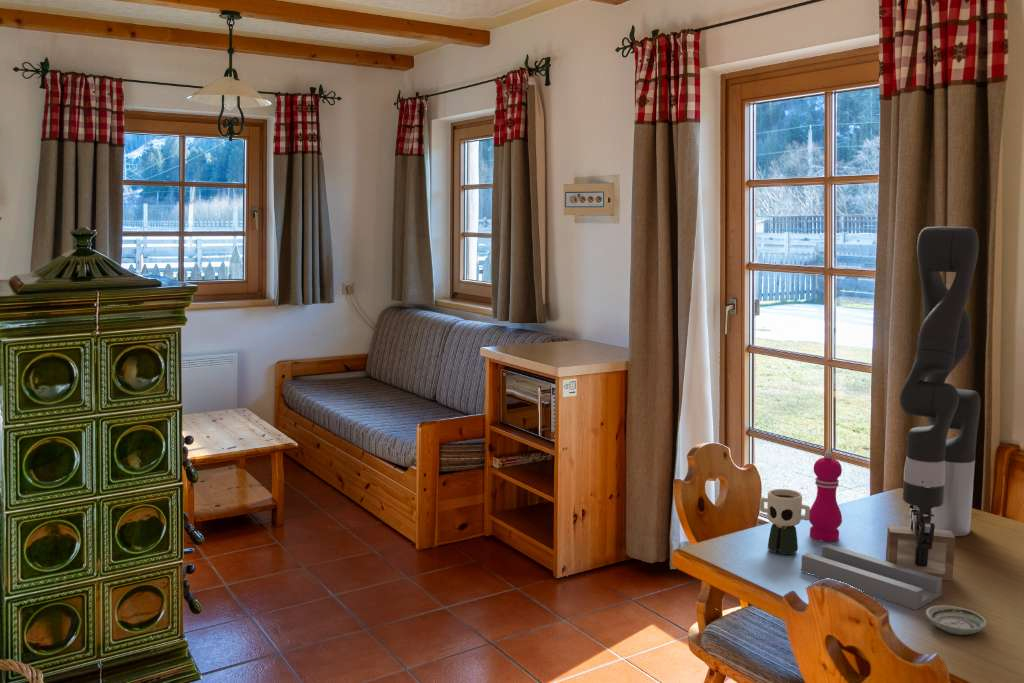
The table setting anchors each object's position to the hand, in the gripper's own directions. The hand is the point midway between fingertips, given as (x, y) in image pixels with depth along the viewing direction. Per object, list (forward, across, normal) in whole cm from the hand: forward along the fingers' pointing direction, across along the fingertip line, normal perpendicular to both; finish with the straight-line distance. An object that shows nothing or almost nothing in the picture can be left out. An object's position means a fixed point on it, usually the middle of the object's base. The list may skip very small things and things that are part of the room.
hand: (918, 561), depth 185 cm
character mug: (+3, -6, -26) cm, 27 cm away
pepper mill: (+3, -18, -17) cm, 25 cm away
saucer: (+3, +25, +2) cm, 25 cm away
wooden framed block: (+3, 0, 0) cm, 3 cm away
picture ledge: (+3, +8, -10) cm, 13 cm away
